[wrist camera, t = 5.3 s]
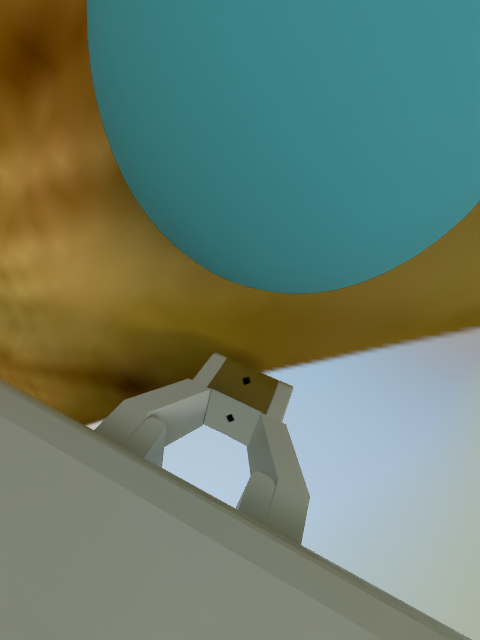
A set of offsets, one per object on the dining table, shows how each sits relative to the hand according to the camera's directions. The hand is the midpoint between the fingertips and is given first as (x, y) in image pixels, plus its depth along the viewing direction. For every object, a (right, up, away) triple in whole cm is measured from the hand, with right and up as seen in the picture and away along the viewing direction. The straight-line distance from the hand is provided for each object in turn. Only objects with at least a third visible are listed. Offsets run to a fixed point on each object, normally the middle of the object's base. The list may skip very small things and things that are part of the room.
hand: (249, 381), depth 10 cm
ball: (+1, +6, -6) cm, 8 cm away
